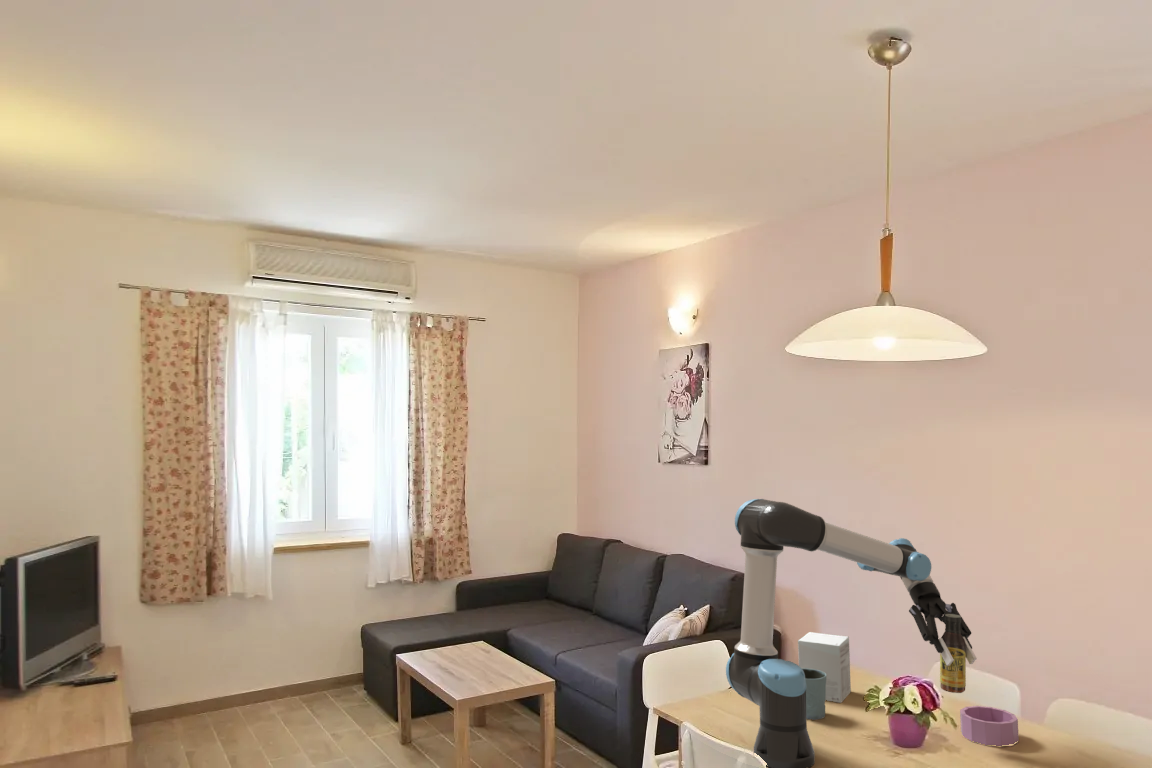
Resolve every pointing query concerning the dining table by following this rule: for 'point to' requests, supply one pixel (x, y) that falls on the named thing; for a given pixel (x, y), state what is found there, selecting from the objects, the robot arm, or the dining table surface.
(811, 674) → the teal cup
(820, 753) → the dining table surface
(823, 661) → the supplement box
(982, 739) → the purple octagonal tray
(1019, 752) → the dining table surface
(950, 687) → the sauce bottle
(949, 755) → the dining table surface
